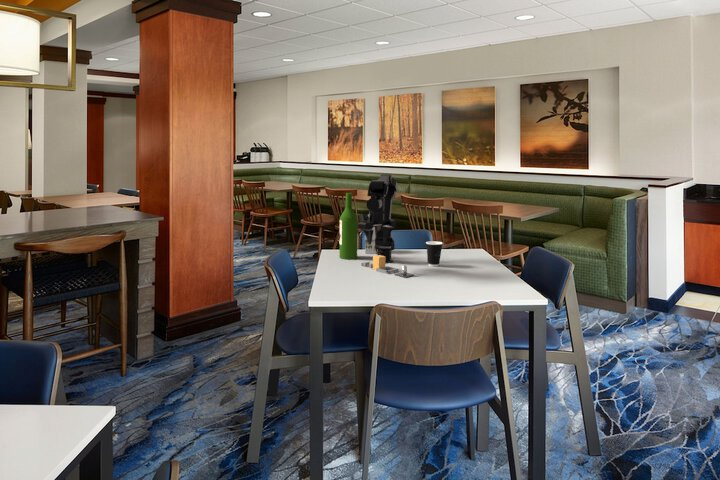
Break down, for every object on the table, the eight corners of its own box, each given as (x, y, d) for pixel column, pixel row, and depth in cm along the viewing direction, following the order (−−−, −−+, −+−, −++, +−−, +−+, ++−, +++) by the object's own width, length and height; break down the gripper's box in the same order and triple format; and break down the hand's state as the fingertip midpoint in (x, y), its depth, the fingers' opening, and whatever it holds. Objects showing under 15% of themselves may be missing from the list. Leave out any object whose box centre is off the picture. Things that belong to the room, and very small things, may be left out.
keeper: (404, 273, 228) (404, 263, 227) (414, 275, 223) (414, 265, 223) (394, 275, 224) (394, 264, 223) (404, 277, 219) (404, 267, 219)
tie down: (357, 266, 241) (357, 253, 240) (368, 264, 246) (368, 251, 245) (387, 273, 226) (387, 260, 226) (398, 271, 231) (398, 258, 230)
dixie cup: (439, 267, 240) (440, 244, 238) (423, 266, 243) (423, 243, 241) (443, 264, 247) (444, 242, 245) (427, 263, 250) (428, 240, 248)
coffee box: (376, 253, 272) (377, 223, 269) (364, 253, 273) (365, 223, 270) (379, 250, 281) (380, 221, 278) (367, 250, 282) (368, 220, 279)
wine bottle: (337, 256, 264) (338, 192, 259) (354, 255, 266) (355, 192, 261) (341, 259, 256) (341, 193, 250) (359, 259, 258) (359, 193, 252)
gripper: (380, 205, 243) (380, 238, 246) (350, 208, 231) (349, 243, 234) (397, 208, 235) (396, 242, 237) (366, 211, 223) (366, 246, 225)
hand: (377, 243), depth 234 cm, fingers open, 9 cm apart
